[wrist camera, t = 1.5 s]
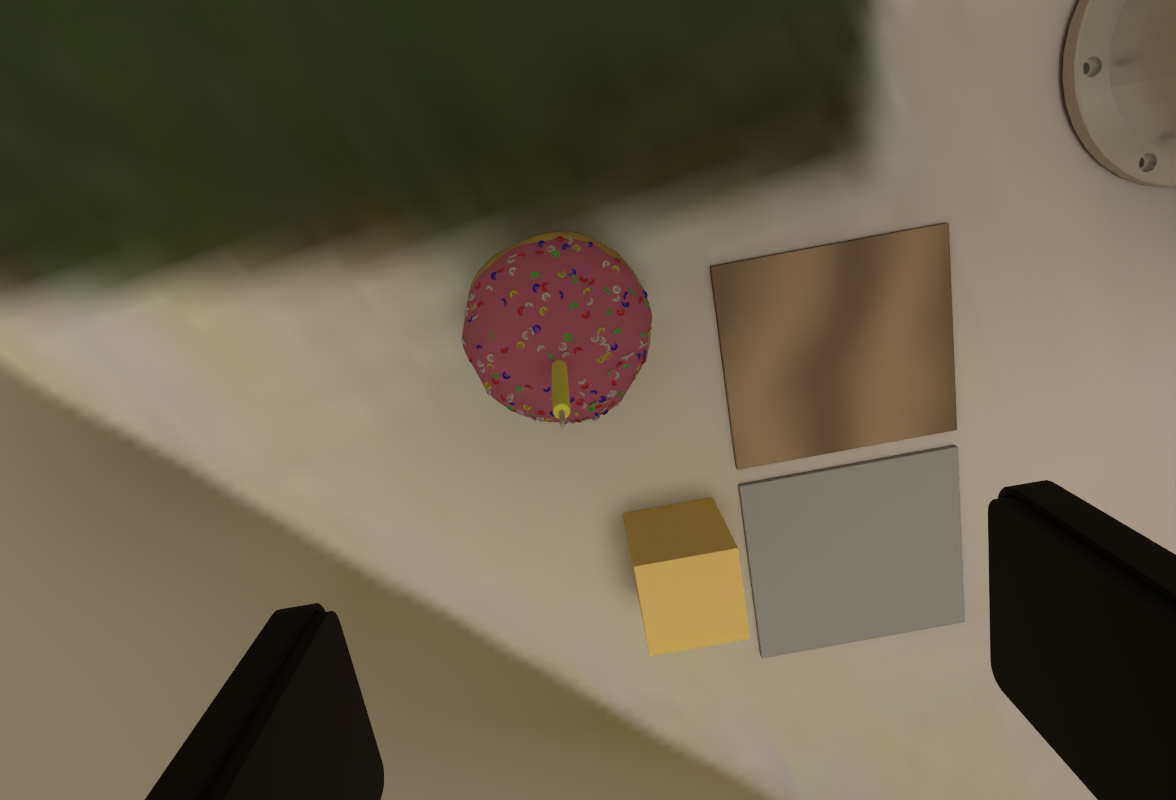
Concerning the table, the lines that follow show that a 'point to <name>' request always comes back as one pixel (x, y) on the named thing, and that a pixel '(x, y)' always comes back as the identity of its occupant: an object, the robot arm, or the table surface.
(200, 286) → the table surface
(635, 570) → the mustard block
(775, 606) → the grey mat
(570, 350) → the cupcake
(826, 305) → the walnut mat
